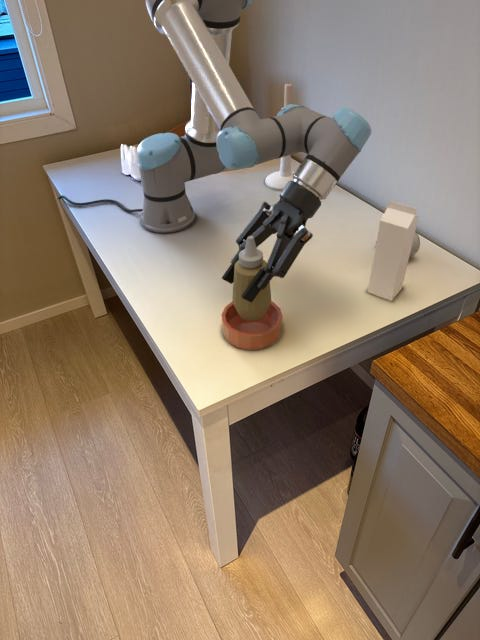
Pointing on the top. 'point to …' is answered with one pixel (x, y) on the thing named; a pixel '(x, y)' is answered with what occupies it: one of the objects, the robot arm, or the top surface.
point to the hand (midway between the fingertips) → (236, 290)
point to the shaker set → (130, 161)
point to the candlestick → (282, 158)
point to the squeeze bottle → (243, 277)
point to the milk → (392, 250)
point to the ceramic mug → (415, 244)
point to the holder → (252, 328)
